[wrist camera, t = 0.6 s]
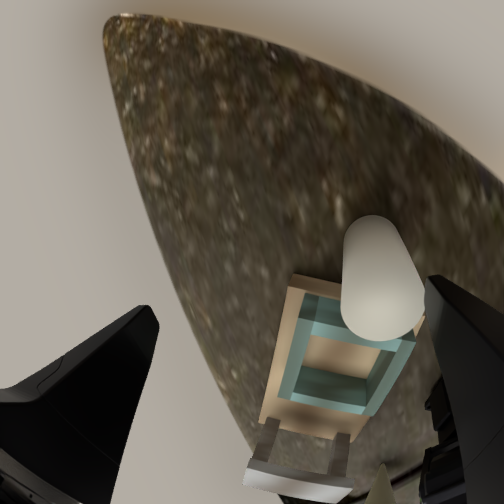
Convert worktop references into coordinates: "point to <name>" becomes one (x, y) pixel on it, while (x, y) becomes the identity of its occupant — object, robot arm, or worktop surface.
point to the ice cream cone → (381, 489)
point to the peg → (379, 281)
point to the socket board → (321, 388)
